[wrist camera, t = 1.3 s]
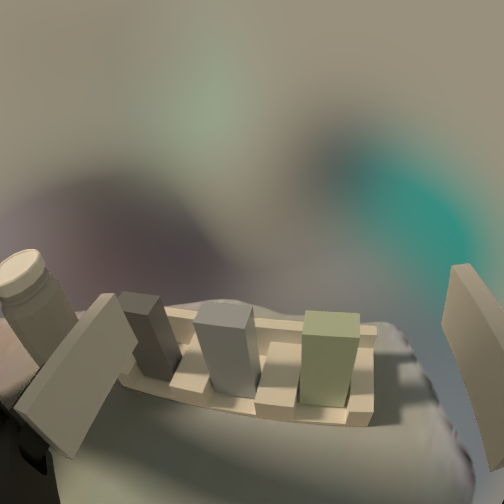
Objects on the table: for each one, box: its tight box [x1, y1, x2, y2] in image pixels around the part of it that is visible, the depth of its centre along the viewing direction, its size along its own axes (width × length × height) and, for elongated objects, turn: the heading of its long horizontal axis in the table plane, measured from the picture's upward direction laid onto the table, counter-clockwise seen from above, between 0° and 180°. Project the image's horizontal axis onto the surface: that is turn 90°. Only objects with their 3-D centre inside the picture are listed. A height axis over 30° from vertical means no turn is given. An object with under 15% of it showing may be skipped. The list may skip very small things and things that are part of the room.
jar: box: [0, 249, 79, 367], centre depth 36 cm, size 10×10×18 cm
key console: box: [118, 307, 377, 427], centre depth 36 cm, size 10×31×6 cm, turn 77°
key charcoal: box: [117, 291, 183, 382], centre depth 35 cm, size 3×5×12 cm, turn 76°
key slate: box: [193, 301, 262, 398], centre depth 32 cm, size 3×5×12 cm, turn 77°
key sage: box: [300, 310, 360, 407], centre depth 30 cm, size 3×5×12 cm, turn 76°
